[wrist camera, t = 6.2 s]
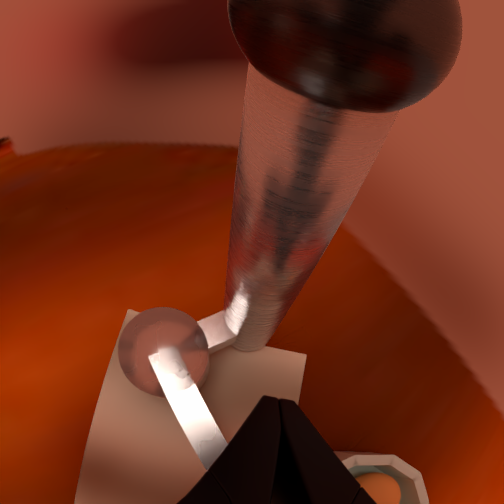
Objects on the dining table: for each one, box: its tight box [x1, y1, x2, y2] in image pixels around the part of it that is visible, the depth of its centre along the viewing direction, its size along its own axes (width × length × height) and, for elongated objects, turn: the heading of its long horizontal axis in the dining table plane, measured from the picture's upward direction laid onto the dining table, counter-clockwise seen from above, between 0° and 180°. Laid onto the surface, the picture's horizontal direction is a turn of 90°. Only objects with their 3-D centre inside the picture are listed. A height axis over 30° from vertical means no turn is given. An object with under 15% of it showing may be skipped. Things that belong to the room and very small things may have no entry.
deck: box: [74, 309, 307, 504], centre depth 11 cm, size 18×9×4 cm, turn 168°
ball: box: [355, 472, 401, 504], centre depth 12 cm, size 4×4×4 cm
